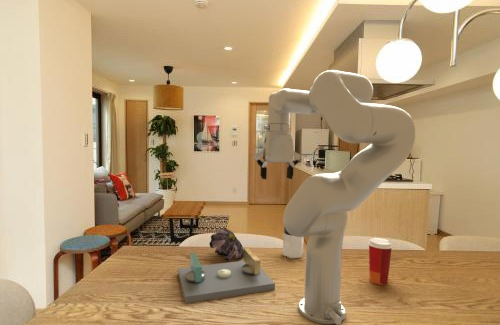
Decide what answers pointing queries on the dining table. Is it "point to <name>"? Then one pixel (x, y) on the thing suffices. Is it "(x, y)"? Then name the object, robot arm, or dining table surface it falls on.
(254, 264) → the knob
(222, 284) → the board
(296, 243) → the jar
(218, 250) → the decorative flower
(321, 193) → the robot arm
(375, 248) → the paper cup
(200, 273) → the knob
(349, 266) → the dining table surface
